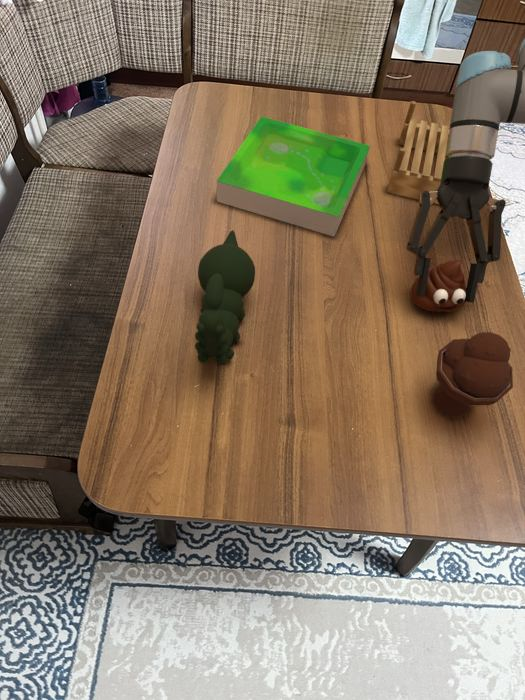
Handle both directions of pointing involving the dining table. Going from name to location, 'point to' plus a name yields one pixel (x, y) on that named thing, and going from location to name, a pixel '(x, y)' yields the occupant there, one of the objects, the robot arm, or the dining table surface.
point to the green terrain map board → (293, 175)
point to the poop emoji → (442, 288)
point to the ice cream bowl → (473, 373)
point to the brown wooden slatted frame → (419, 157)
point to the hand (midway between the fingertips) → (444, 299)
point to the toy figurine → (222, 299)
